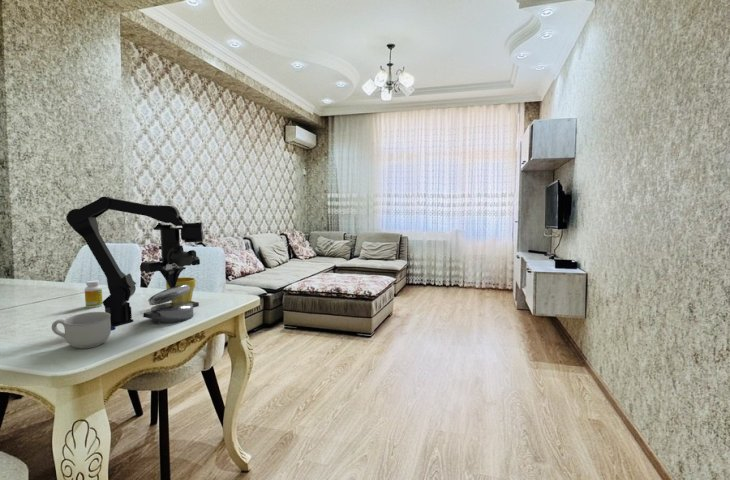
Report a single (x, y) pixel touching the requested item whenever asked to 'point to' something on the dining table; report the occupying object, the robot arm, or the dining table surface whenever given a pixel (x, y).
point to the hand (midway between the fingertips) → (172, 288)
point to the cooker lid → (169, 294)
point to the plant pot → (184, 281)
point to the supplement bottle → (93, 294)
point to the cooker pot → (171, 312)
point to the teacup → (85, 329)
